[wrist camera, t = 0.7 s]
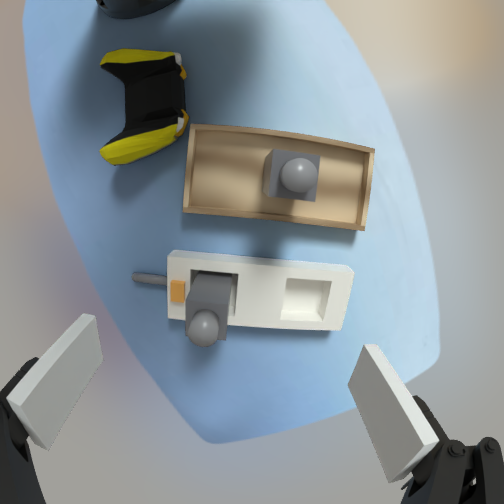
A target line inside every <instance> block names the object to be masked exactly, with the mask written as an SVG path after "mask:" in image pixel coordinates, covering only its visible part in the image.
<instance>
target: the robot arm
mask: <svg viewBox="0 0 504 504" xmlns="http://www.w3.org/2000/svg"><path fill="white" fill-rule="evenodd" d="M96 1H97V4H98V6H99V7H100V8H101V9H102V10H103V11H104V12H105V13H106V14H107V15H109V16H111V17H114V18H120V19H127V18H134V17H139V16H143V15H146V14H149V13H152V12H154V11H157V10H159V9H161V8H163V7H165V6H167V5H169V4H170V3H172V2H174V1H175V0H96ZM102 361H103V354H102V350H101V344H100V339H99V333H98V327H97V321H96V316H94V315H89V314H85V313H83V314H82V315H81V316H80V317H79V318H78V319H77V320H76V321H75V322H74V323H73V324H72V325H71V326H70V327H69V328H68V329H67V330H66V331H65V332H64V333H63V334H62V335H61V336H60V337H59V339H58V340H57V341H56V342H55V343H54V344H53V345H52V346H51V347H50V348H49V349H48V350H47V351H46V352H45V353H44V355H43V356H42V357H41V358H40V359H39V358H37V357H35V358H33V359H31V360H29V361H27V362H26V363H25V364H24V365H23V366H22V367H21V369H20V370H19V371H18V372H17V373H16V374H15V376H14V377H13V378H12V379H11V380H10V381H9V382H8V383H7V384H6V386H5V387H4V388H3V389H2V390H1V391H0V504H46V502H45V500H44V497H43V494H42V491H41V488H40V485H39V482H38V479H37V476H36V472H35V469H34V465H33V462H32V458H31V454H30V449H29V445H28V443H27V441H26V439H27V437H28V436H30V438H31V439H32V441H33V442H34V443H35V444H36V445H38V446H40V447H42V448H44V449H46V450H48V451H49V449H50V448H51V446H52V444H53V442H54V440H55V439H56V437H57V435H58V433H59V431H60V430H61V428H62V426H63V424H64V423H65V421H66V419H67V418H68V416H69V414H70V412H71V411H72V409H73V408H74V406H75V404H76V403H77V401H78V399H79V398H80V396H81V394H82V393H83V391H84V390H85V388H86V386H87V385H88V383H89V382H90V380H91V379H92V377H93V375H94V374H95V372H96V371H97V369H98V367H99V366H100V365H101V363H102ZM348 387H349V389H350V392H351V394H352V396H353V398H354V401H355V403H356V405H357V408H358V409H359V412H360V415H361V417H362V419H363V421H364V424H365V426H366V429H367V431H368V433H369V436H370V438H371V440H372V443H373V445H374V448H375V450H376V453H377V455H378V458H379V460H380V463H381V465H382V467H383V470H384V473H385V475H386V478H387V480H388V483H391V482H395V481H398V480H401V479H404V478H405V477H406V476H407V475H408V474H409V473H410V472H412V474H413V477H412V478H411V479H410V480H409V481H408V482H407V483H406V484H405V485H403V487H402V488H401V490H403V489H404V488H406V487H407V486H408V487H407V490H406V492H405V494H404V497H403V499H402V501H401V504H504V462H503V458H502V453H501V448H500V445H499V443H498V442H497V441H496V440H495V439H494V438H492V437H485V438H483V439H482V440H481V441H480V442H479V443H478V445H476V446H465V445H464V444H463V443H462V442H460V441H458V440H449V438H448V437H447V435H446V434H445V432H444V431H443V429H442V428H441V426H440V424H439V423H438V421H437V420H436V418H434V415H433V414H432V412H431V411H430V409H429V408H428V406H427V405H426V403H425V402H424V401H423V400H422V399H420V398H419V397H418V396H411V394H410V393H409V391H408V390H407V388H406V387H405V385H404V384H403V382H402V381H401V379H400V378H399V376H398V375H397V373H396V372H395V370H394V369H393V367H392V366H391V364H390V363H389V361H388V360H387V358H386V357H385V356H384V354H383V353H382V351H381V350H380V348H379V347H378V345H377V344H364V345H363V348H362V351H361V353H360V356H359V359H358V361H357V364H356V366H355V369H354V371H353V373H352V376H351V378H350V381H349V383H348ZM475 478H476V484H475V485H473V480H474V479H475Z"/></svg>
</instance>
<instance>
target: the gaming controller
mask: <svg viewBox="0 0 504 504" xmlns="http://www.w3.org/2000/svg"><path fill="white" fill-rule="evenodd" d="M181 60H182V59H181V55H180V54H179V53H173V52H171V51H169V52H161V51H150V50H140V49H127V48H123V49H119V50H115V51H111V52H108V53H107V54H106V55H105V56H104V57H103V58H102V60H101V62H100V66H101V68H102V69H104V70H105V71H107V72H109V73H110V74H112V75H114V76H115V77H117V78H118V79H120V80H121V81H122V82H123V83H124V85H125V113H126V124H125V128H124V130H123V131H122V132H121V133H120V134H118V135H117V136H116V137H114V138H113V139H111V140H110V141H109V142H108V143H107V144H106V145H104V146H103V147H102V148H101V149H100V154H101V156H102V157H103V158H104V159H105V160H106V161H108V162H109V163H110V164H112V165H114V166H117V165H124V164H130V163H133V162H135V161H137V160H140V159H142V158H144V157H147V156H149V155H152V154H154V153H156V152H158V151H160V150H162V149H164V148H165V147H167V146H169V145H171V144H173V143H174V142H175V141H176V140H177V139H178V137H179V136H181V135H182V134H183V132H184V130H185V127H186V125H187V123H188V119H189V116H188V115H187V113H186V109H185V91H184V80H185V78H186V76H187V74H186V72H185V70H184V68H183V66H182V65H181Z"/></svg>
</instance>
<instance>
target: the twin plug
mask: <svg viewBox="0 0 504 504" xmlns="http://www.w3.org/2000/svg"><path fill="white" fill-rule="evenodd" d="M231 283H232V273H226V272H215V271H205V270H199V272H198V274H197V276H196V278H195V280H194V283H193V285H192V287H191V289H190V291H189V293H188V296H187V298H186V300H185V331H186V336H188V337H189V339H190V340H191V342H192V343H194V344H195V345H197V346H200V347H208V346H211V345H213V344H214V343H215V342H216V340H226V334H227V324H228V315H229V306H230V295H231Z"/></svg>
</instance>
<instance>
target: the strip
mask: <svg viewBox="0 0 504 504" xmlns="http://www.w3.org/2000/svg"><path fill="white" fill-rule="evenodd" d="M199 270H205V271H215V272H226V273H232V283H231V295H230V306H229V315H228V324H227V325H236V326H249V327H263V328H280V329H302V330H341V328H342V324H343V320H344V316H345V312H346V308H347V304H348V300H349V296H350V292H351V288H352V283H353V279H354V274H355V272H354V271H352V270H351V269H350V268H349V267H348V266H347V265H341V264H329V263H317V262H306V261H295V260H283V259H272V258H261V257H250V256H239V255H228V254H217V253H206V252H195V251H184V250H173V251H172V252H171V253H170V254H169V255H168V256H167V276H162V275H154V274H145V273H137V272H135V273H133V274H132V280H133V281H135V282H142V283H150V284H158V285H167V299H168V318H171V319H179V320H185V300H186V298H187V296H188V293H189V291H190V289H191V287H192V285H193V283H194V280H195V278H196V276H197V274H198V272H199Z"/></svg>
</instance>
